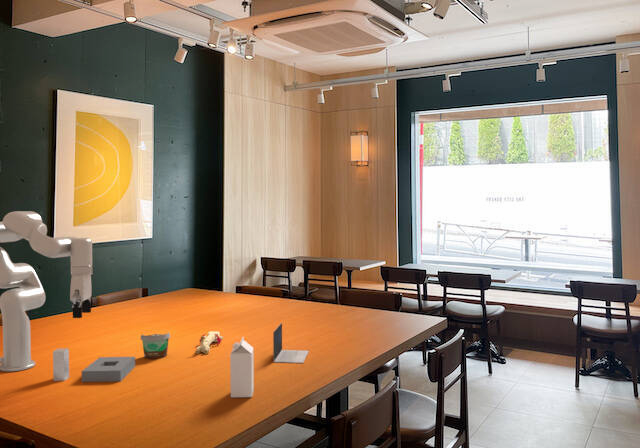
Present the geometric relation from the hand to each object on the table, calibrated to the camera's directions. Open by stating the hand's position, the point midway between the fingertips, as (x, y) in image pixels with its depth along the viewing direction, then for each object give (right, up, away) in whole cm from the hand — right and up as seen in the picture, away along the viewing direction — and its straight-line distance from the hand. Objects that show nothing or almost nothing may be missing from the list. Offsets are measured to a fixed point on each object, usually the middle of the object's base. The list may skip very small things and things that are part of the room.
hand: (82, 315), depth 199 cm
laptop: (+79, -23, +25) cm, 85 cm away
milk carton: (+64, -24, -20) cm, 71 cm away
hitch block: (+10, -23, +2) cm, 25 cm away
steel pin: (-6, -23, -4) cm, 24 cm away
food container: (+21, -23, +23) cm, 38 cm away
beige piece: (+40, -22, +41) cm, 61 cm away
